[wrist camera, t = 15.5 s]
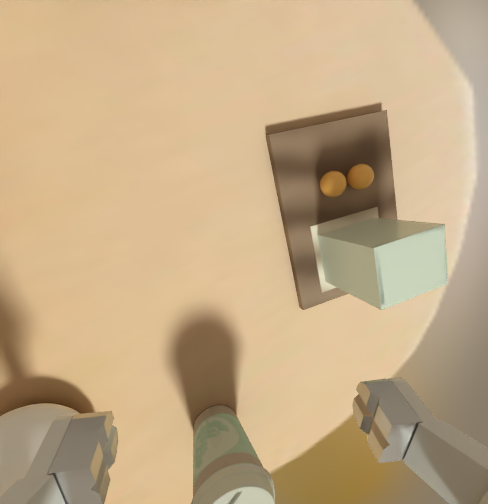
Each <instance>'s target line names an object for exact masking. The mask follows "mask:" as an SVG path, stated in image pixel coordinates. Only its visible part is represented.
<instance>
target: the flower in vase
mask: <svg viewBox="0 0 488 504" xmlns="http://www.w3.org/2000/svg"><path fill="white" fill-rule="evenodd" d="M72 414H80V413H79V412H77V411H75V410H74V409H72V408H69V407H67V406H63V405H59V404H53V403H40V404H32V405H28V406H24V407H20V408H17V409H14V410H12V411H9V412H7V413H5V414H3V415H1V416H0V496H1V495H2V494H3V493H4V492H5V491H6V490H7V489H8V488H9V487H11V486H12V485H13V484H14V483H15V482H16V481H17V480H18V479H22V478H25V476H26V474H27V472H28V470H29V468H30V466H31V464H32V461H33V459H34V457H35V455H36V453H37V451H38V449H39V447H40V445H41V443H42V441H43V439H44V437H45V435H46V433H47V431H48V429H49V427H50V425H51V423H52V421H53V420H54V419H55V418H56V417H57V416H62V415H72Z"/></svg>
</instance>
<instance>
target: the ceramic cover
mask: <svg viewBox="0 0 488 504" xmlns="http://www.w3.org/2000/svg"><path fill="white" fill-rule="evenodd" d="M317 236H318V242H319V247H320V253H321V259H322V265H323V270H324V276H325V282H327V283H329V284H331V285H333V286H335V287H337V288H339V289H341V290H343V291H345V292H347V293H349V294H351V295H353V296H355V297H357V298H359V299H361V300H363V301H364V302H366V303H368V304H370V305H372V306H374V307H376V308H378V309H380V310H383V309H385V308H388V307H390V306H393V305H395V304H398V303H400V302H403V301H405V300H408V299H410V298H413V297H415V296H418V295H420V294H423V293H426V292H428V291H431V290H433V289H436V288H438V287H441V286H443V285H446V284H448V274H447V257H446V240H445V224H437V223H426V222H415V221H404V220H393V219H382V218H371V219H367V220H364V221H361V222H358V223H355V224H351V225H348V226H345V227H342V228H338V229H335V230H332V231H329V232H325V233H322V234H319V235H317Z"/></svg>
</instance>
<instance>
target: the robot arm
mask: <svg viewBox="0 0 488 504" xmlns="http://www.w3.org/2000/svg"><path fill="white" fill-rule="evenodd" d="M356 390H357V391H358V393H359V394H358V395H357V396H356V397H355V398H354V401H353V413H354V416H355V419H356V422H357V424H358V426H359V428H360V429H361V430H363V431H364V432H365V433H366V434H368V437H367V443H368V445H369V446H370V448H371V450H372V452H373V454H374V456H375V457H376V459H377V461H378V463H383V462H391V461H399V460H403V462H404V463H405V464H406V465H407V466H408V467H409V468H411V469H412V470H413V471H414V472H415V473H416V474H417V475H418V476H420V477H421V478H422V479H423V480H424V481H425V482H426V483H427V484H428V485H429V486H431V487H432V488H433V489H434V490H435V491H436V492H437V493H438V494H439V495H440V496H442V497H443V498H444V499H445V500H446V501H447V502H449V504H488V448H487V447H485V446H484V445H482V444H480V443H479V442H477V441H475V440H474V439H472V438H471V437H469V436H467V435H465V434H464V433H462V432H461V431H459V430H458V429H456V428H454V427H453V426H451V425H449V424H448V423H446V422H444V421H443V420H437V419H436V417H435V416H434V415H433V414H432V412H431V411H430V410H429V409H428V408H427V406H426V405H425V404H424V402H423V401H422V400H421V399H420V398H419V396H418V395H417V394H416V393H415V391H414V390H413V389H412V388H411V387H410V385H409V384H408V383H407V382H406V381H405V380H404V379H403V378H391V379H379V380H372V381H364V382H360V383H359V384H358V386H357V389H356ZM113 420H114V417H113V413H112V411H105V412H94V413H83V414H72V415H62V416H57V417H56V418H55V419H54V420H53V421H52V423H51V425H50V427H49V429H48V431H47V433H46V435H45V437H44V439H43V441H42V443H41V445H40V447H39V449H38V451H37V453H36V455H35V457H34V459H33V461H32V464H31V466H30V468H29V470H28V472H27V474H26V476H25V478H22V479H18V480H17V481H16V482H15V483H14V484H13V485H12V486H11V487H9V488H8V489H7V490H6V491H5V492H4V493H3V494H2V495H1V496H0V504H104V502H105V498H106V494H107V490H108V486H109V482H110V477H109V473H108V469H109V468H110V467H111V466H112V465H113V463H114V462H115V457H116V453H117V445H118V433H117V428H116V427H115V426H113V425H112V423H113Z"/></svg>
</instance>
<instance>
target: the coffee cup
mask: <svg viewBox="0 0 488 504" xmlns="http://www.w3.org/2000/svg"><path fill="white" fill-rule="evenodd" d="M191 504H275V490H274V485H273V480H272V477H271V475H270V474H269V473H268V471H267V470H266V469H264V468H263V466H262V464H261V462H260V460H259V458H258V456H257V454H256V452H255V450H254V448H253V447H252V445H251V443H250V441H249V439H248V437H247V435H246V433H245V431H244V429H243V427H242V426H241V424H240V422H239V420H238V418H237V416H236V414H235V412H234V411H233V410H232V409H231V408H229V407H227V406H223V405H216V406H212V407H209V408H207V409H206V410H204V411H203V412H202V413H201V414H200V415H199V416H198V417H197V419H196V421H195V423H194V434H193V500H192V503H191Z"/></svg>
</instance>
